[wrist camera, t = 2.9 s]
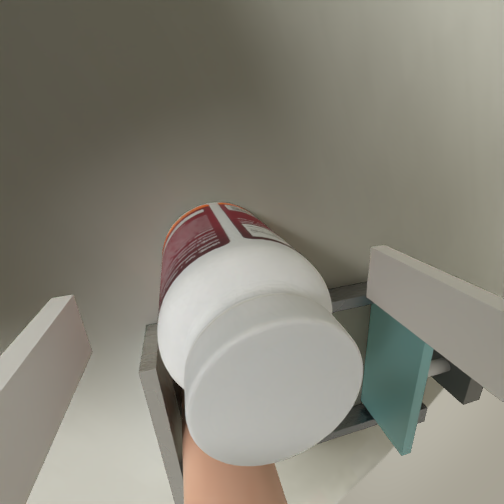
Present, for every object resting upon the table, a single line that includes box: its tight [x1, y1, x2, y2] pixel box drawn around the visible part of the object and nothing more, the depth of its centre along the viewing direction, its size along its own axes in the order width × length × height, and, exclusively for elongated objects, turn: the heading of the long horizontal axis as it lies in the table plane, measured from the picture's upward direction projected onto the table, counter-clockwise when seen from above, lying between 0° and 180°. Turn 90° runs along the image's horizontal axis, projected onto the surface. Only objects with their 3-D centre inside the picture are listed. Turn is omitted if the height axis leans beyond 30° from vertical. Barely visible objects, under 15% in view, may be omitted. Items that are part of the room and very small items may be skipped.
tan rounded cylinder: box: [181, 389, 287, 504], centre depth 16 cm, size 5×5×11 cm
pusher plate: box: [361, 303, 483, 455], centre depth 22 cm, size 6×11×5 cm, turn 4°
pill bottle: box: [157, 202, 363, 466], centre depth 12 cm, size 6×6×11 cm
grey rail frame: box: [139, 282, 427, 504], centre depth 20 cm, size 20×14×4 cm, turn 94°
